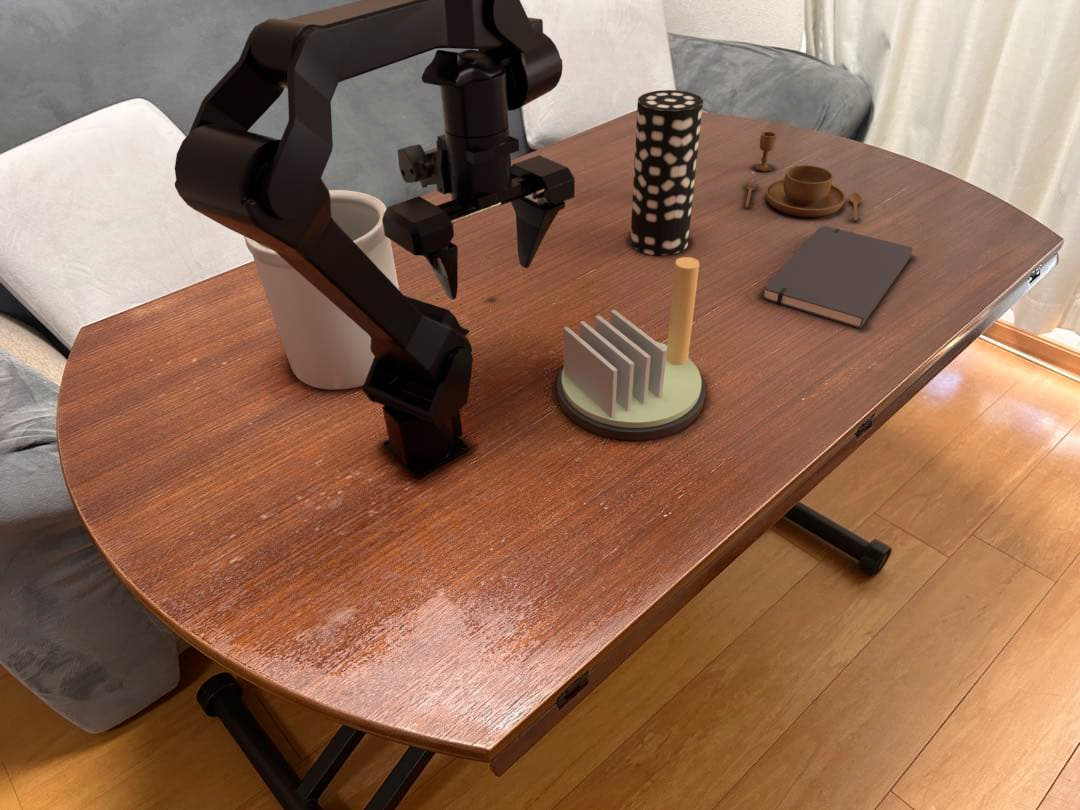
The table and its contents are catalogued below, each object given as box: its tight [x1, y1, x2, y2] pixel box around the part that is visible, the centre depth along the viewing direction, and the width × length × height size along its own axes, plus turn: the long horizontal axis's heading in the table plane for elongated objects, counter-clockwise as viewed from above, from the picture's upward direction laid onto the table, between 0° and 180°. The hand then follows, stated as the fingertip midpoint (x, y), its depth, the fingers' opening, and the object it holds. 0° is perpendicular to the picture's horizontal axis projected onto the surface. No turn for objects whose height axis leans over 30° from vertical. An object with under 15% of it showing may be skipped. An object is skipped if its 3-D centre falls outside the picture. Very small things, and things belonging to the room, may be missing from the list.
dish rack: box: [562, 256, 701, 428], centre depth 78 cm, size 15×15×13 cm
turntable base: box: [556, 365, 706, 441], centre depth 83 cm, size 16×16×1 cm
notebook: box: [762, 225, 914, 329], centre depth 100 cm, size 13×2×21 cm
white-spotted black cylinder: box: [629, 89, 704, 256], centre depth 103 cm, size 8×8×20 cm
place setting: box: [745, 131, 863, 221], centre depth 119 cm, size 18×20×6 cm
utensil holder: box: [244, 189, 400, 391], centre depth 84 cm, size 15×15×18 cm
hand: (489, 281), depth 76 cm, fingers open, 9 cm apart
